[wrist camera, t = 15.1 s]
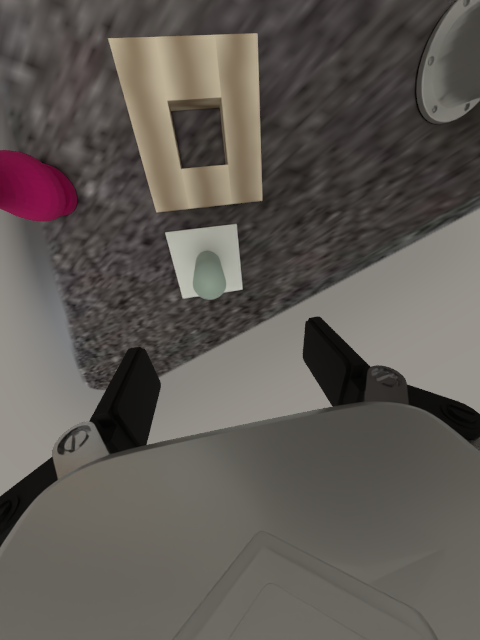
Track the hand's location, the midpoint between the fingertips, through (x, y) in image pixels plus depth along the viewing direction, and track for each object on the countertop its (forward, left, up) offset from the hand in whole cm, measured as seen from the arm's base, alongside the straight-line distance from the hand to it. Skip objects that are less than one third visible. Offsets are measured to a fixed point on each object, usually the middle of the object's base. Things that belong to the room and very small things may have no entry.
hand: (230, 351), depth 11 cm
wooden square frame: (-1, -15, -28) cm, 32 cm away
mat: (+1, +2, -28) cm, 28 cm away
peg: (+1, +2, -28) cm, 28 cm away
